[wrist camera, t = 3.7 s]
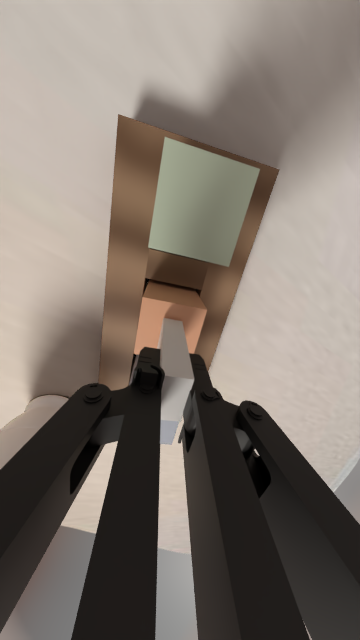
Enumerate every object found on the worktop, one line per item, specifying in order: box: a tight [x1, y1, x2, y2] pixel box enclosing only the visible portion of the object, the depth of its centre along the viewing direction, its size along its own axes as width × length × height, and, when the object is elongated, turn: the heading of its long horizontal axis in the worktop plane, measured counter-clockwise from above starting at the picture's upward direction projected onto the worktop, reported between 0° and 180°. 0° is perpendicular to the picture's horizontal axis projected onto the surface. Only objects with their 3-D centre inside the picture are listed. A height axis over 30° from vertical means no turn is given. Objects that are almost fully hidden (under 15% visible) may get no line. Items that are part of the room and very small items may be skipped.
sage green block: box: [148, 137, 260, 267], centre depth 13 cm, size 5×5×8 cm
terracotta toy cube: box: [134, 279, 207, 355], centre depth 18 cm, size 5×5×8 cm
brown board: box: [98, 114, 279, 391], centre depth 21 cm, size 28×13×3 cm, turn 167°
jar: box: [0, 395, 69, 469], centre depth 21 cm, size 11×10×15 cm
